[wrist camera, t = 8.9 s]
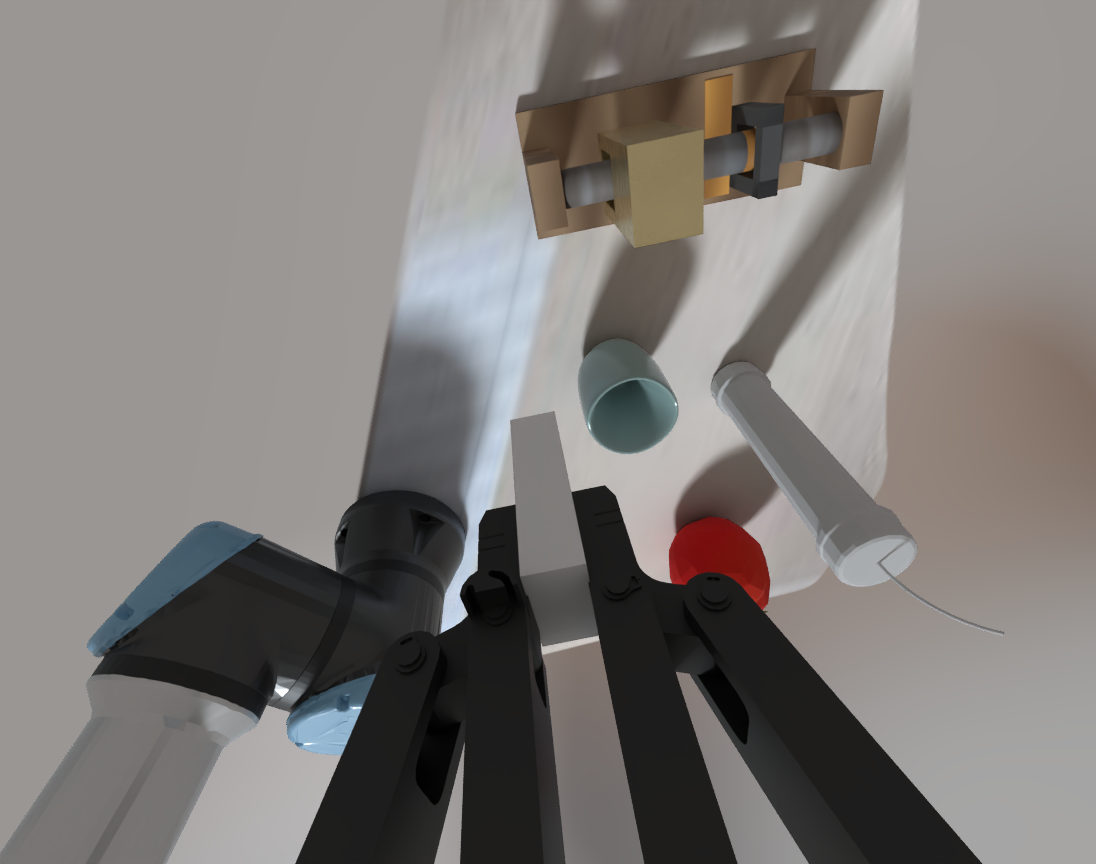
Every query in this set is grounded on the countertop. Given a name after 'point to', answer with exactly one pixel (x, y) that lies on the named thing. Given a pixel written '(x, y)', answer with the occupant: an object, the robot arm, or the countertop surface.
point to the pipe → (818, 485)
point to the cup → (625, 397)
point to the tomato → (720, 556)
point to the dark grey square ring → (760, 147)
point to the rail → (700, 102)
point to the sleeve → (655, 181)
